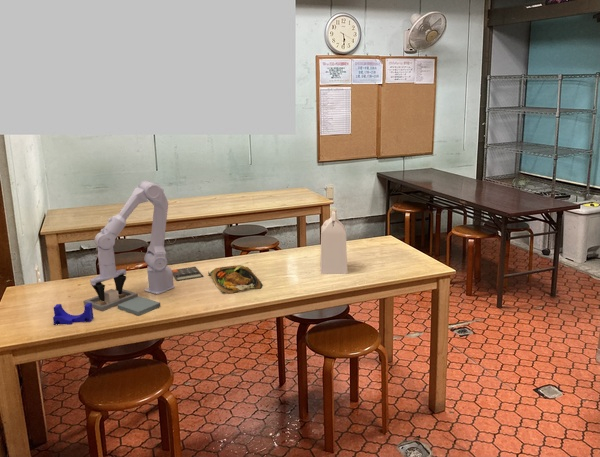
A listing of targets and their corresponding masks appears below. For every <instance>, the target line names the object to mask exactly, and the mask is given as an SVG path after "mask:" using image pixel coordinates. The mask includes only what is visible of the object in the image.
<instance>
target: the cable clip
mask: <svg viewBox="0 0 600 457" xmlns="http://www.w3.org/2000/svg"><path fill="white" fill-rule="evenodd" d="M93 309H94V308H92V303H87V304H86V305H84V310H83V312H82V313H80V314H77V315H74V314H70V313H68V312H67V311H66V310H65V309H64V307H63V306H62V304H61V303H59V304H58V303H57V304H56V305H54V307H53V312H54V313H53V314H54V316H52V320H53V325H54V326H59V325H58V324H67V325H73V324H74V323H91V322H92V321H93V319H94V318H95V317H94V311H93ZM55 324H57V325H55Z"/></svg>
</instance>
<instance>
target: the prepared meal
mask: <svg viewBox="0 0 600 457" xmlns="http://www.w3.org/2000/svg"><path fill="white" fill-rule="evenodd" d="M208 276H211V279H212V280H213V283H214V284H215V286H216V287H217V288H218V290H220V292H221V293H222V294H228V295H231V294H235V293H237V294H238V293H240V292H244V291H247V290H249V289H262V288H263V286H264V285H263V283H262V281H261V280H260V278H258V277H257V276H256V274H255V273H254V272H253V271H252V270H251V269H250V268H249V267H248V266H244V265H242V264H237V265H230V266H222V267H215V268H214V269H212V270H211V271H210V272H209V271H208ZM237 286H242V289H240V288H239V287H237ZM244 286H245V287H244ZM246 286H247V287H246ZM243 288H244V289H243Z"/></svg>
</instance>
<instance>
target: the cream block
mask: <svg viewBox="0 0 600 457" xmlns="http://www.w3.org/2000/svg"><path fill="white" fill-rule="evenodd" d="M104 295H105V301H103V302H104V303H105V304H107V303H110V302H113V301H115V300H118V299H120V295H119V294H118V291H117V290H115V289H113V288H110V289H108V290H104Z"/></svg>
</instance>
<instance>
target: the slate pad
mask: <svg viewBox="0 0 600 457" xmlns="http://www.w3.org/2000/svg"><path fill="white" fill-rule="evenodd" d="M116 307H117V309H118V310H121V311H124V312H126V313H129V314H132V315H136V316H138V317H139V316H142V315H144V314H146V313H148V312H151V311H154V310H155V309H158V308H160V307H161V302H159V301H156V300H152V299H149V298H146V297H142V296H140V295H138V297H136V298H134V299H131V300H128V301H126V302H123V303H121V304H118V305H117V306H116Z"/></svg>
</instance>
